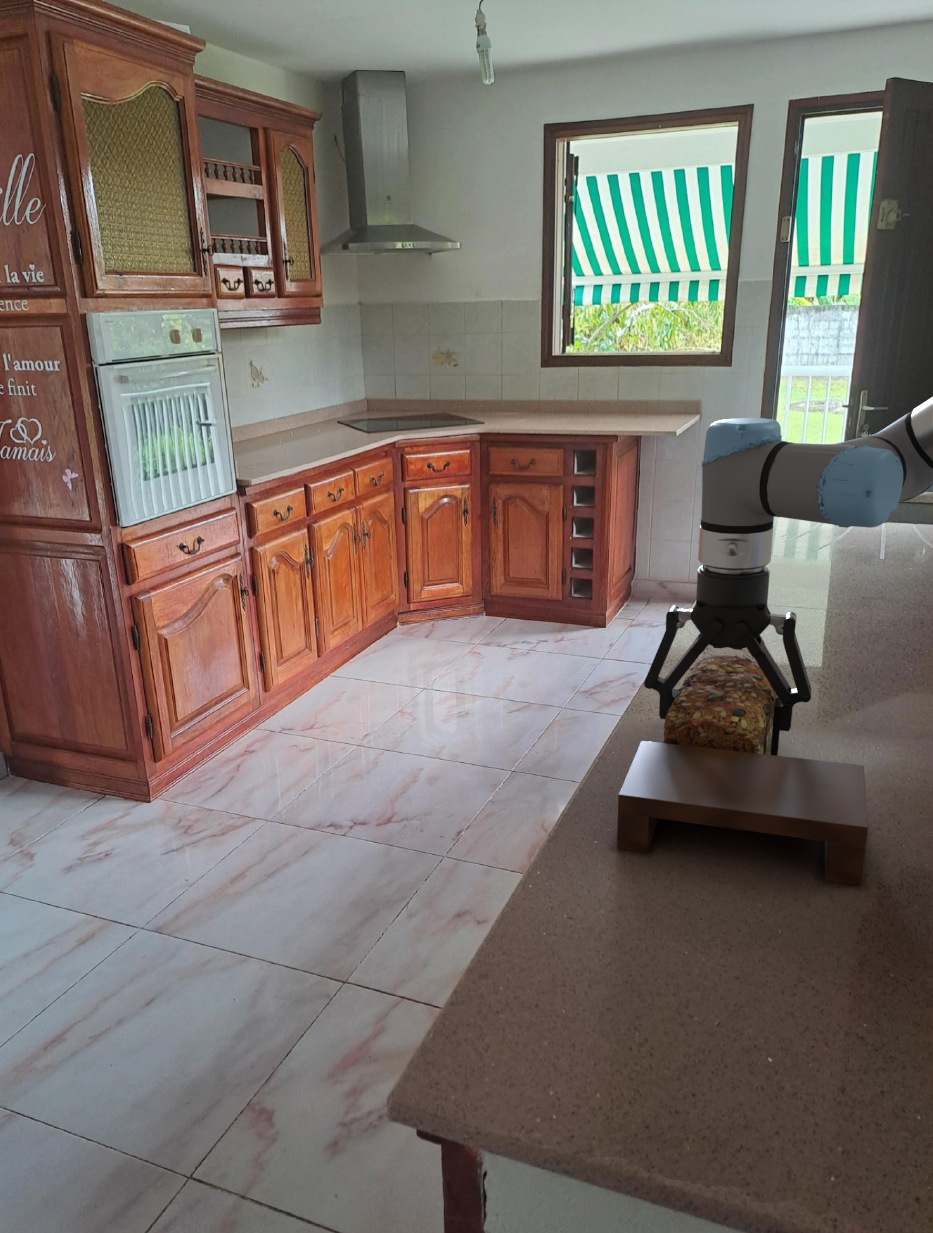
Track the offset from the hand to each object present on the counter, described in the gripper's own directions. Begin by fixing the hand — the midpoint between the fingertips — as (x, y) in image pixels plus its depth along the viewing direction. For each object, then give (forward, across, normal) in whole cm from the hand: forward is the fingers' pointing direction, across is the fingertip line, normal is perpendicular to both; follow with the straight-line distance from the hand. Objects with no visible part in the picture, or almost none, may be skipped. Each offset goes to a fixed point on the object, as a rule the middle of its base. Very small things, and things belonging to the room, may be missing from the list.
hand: (722, 749), depth 112 cm
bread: (+1, 0, 0) cm, 1 cm away
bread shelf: (+1, +3, -18) cm, 18 cm away
